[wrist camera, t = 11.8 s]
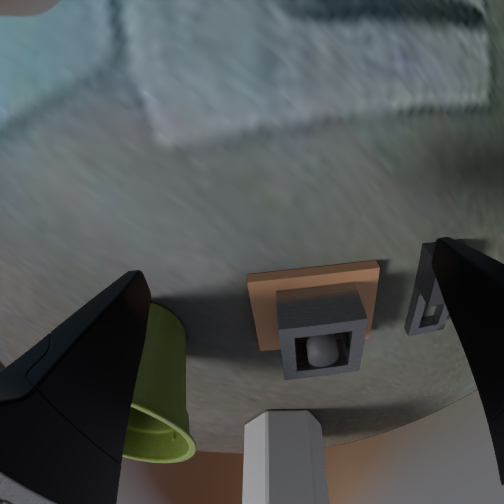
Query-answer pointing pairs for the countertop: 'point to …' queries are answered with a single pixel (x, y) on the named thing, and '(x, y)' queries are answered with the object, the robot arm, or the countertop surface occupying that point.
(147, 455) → the plant pot
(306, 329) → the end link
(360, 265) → the tan board with knob
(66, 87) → the countertop surface
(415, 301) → the dark clasp block
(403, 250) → the countertop surface
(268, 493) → the soap bottle
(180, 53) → the countertop surface
